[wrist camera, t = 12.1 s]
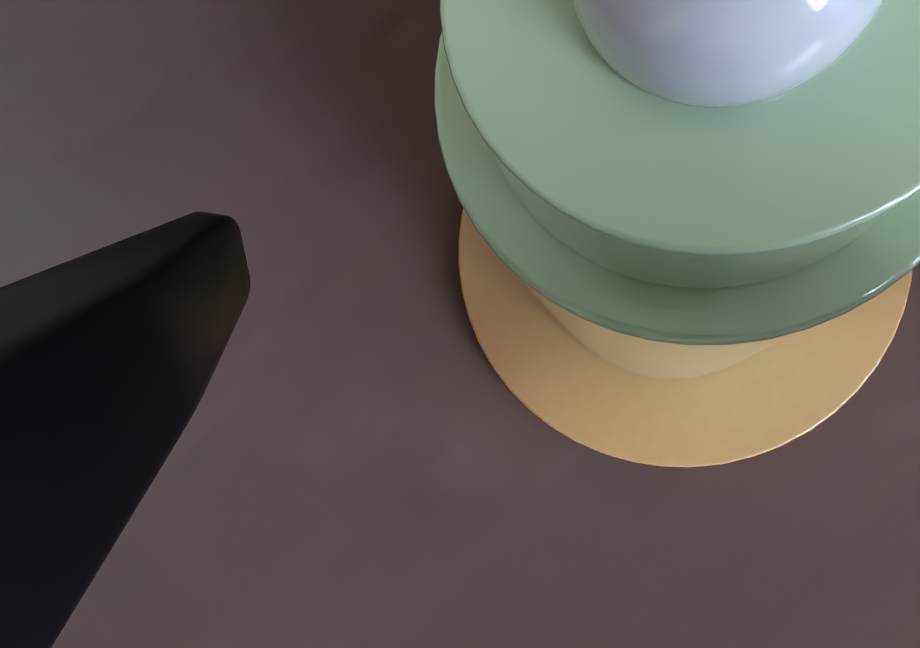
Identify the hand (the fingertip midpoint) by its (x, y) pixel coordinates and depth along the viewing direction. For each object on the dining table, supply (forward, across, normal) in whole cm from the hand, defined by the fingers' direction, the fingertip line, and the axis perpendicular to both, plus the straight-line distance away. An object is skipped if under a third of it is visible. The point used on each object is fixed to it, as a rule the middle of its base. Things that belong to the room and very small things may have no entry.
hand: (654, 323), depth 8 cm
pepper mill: (+8, 0, +5) cm, 9 cm away
